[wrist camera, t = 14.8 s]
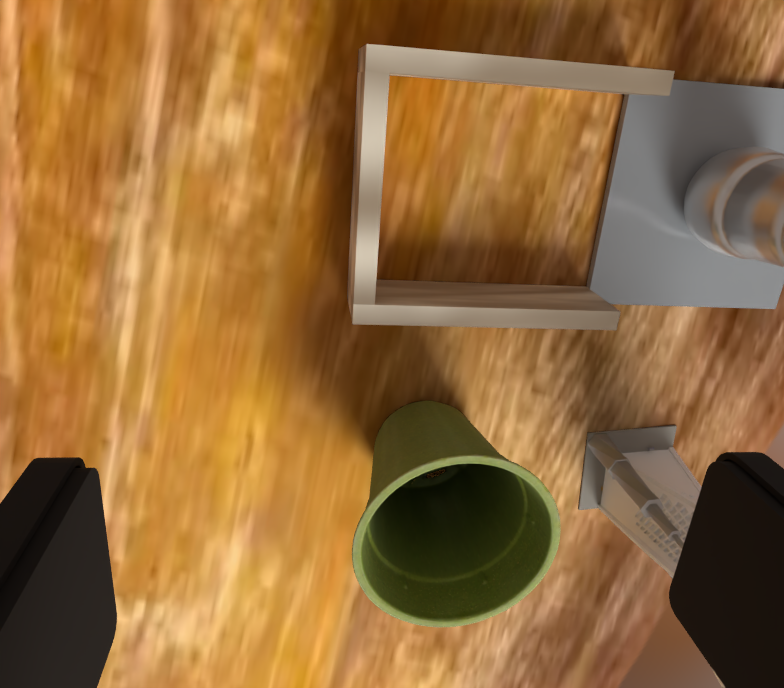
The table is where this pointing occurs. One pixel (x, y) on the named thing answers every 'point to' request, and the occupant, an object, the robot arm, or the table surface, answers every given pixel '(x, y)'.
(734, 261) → the tile
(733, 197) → the plastic bottle
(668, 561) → the skyscraper
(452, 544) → the plant pot
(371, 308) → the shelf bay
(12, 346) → the table surface
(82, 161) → the table surface
